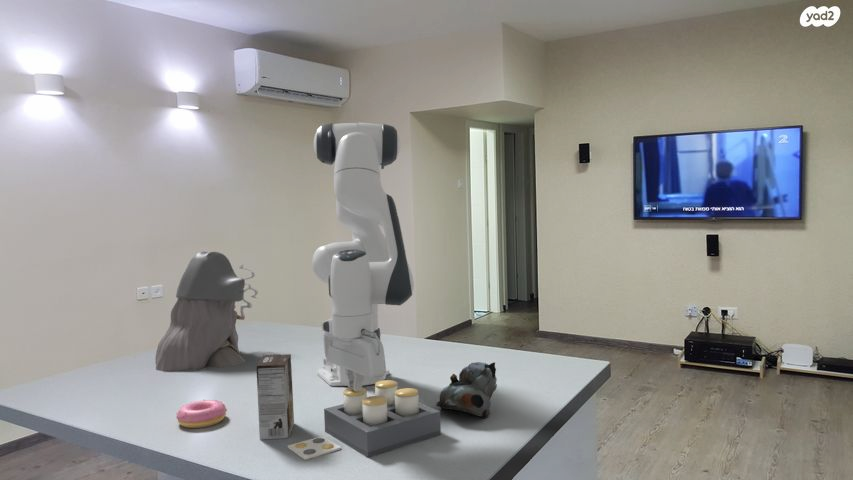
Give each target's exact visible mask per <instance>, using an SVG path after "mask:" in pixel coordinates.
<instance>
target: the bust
mask: <svg viewBox="0 0 853 480" xmlns="http://www.w3.org/2000/svg"><path fill="white" fill-rule="evenodd" d="M244 264H245V263H243V264H241V265H239V269H240V270H248V271H250V272H251V275H250V276H247V277H245V278H243V277H238V276H237V274H236V272H235V271H234V268H233V266H232V263H231V262H230V260H229V258H228V257H227V256H226V255H225V254H224V253H221V252H219V251H210V252H208V251H200V252H198V253H196V254H195V255H194V256H193V257H192V258H191V259H190V260H189V262H188V264H187V266H186V268H185V271H183V274H182V276H181V278H180V281H179V284H178V286H177V289H176V294H175V297H176V298H177V300H176V301H175V303H174V306H173V307H172V309H171V311H170V324H169V327H168V329H167V330H166V332H165V334H164V335H163V337H162V338H161V340H160V341H159V343H158V344H157V348H156V353H155V371H160V372H174V371H176V372H179V371H185V372H186V371H191V370H200V369H203V368H206V366H208V367H209V366H211V367H215V368H229V367H234V366H237V365H240V364H244V363H245V362H246V359H244V358H243V357H242V356H241V355H240V354H241V351H240V349H239V334H238V332H237V328H236V323H237V320H240V321H241V320H242V321H243V320H244V321H245V318H246V315H245V313H244V309H245V308H247V309H251V308H252V307H253V303H252V302H250V301H249V300H247V299H246V298H245V297H244V294H245V293H246V292H247V291H248V290H252V291H253V292H254V294H251V298H254V299H257V297H256V296H257V295H258V290H257V288H256V289H255V288H253V287H252V286H251V284H249V283H246V282H245V280H249V279H253V278H254V277H255V276H256V274H255V272H254V271H252V270H251V269H248V268H244ZM246 285H248V287H247V288H245V286H246ZM241 301H243V302H244V303H246V304H243V303H242V304H241V305H240V307H239V308H240V309H239V310H240V315H239V314H238V312H237V311H236V308H237V307H236V302H237V303H238V302H241Z"/></svg>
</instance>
